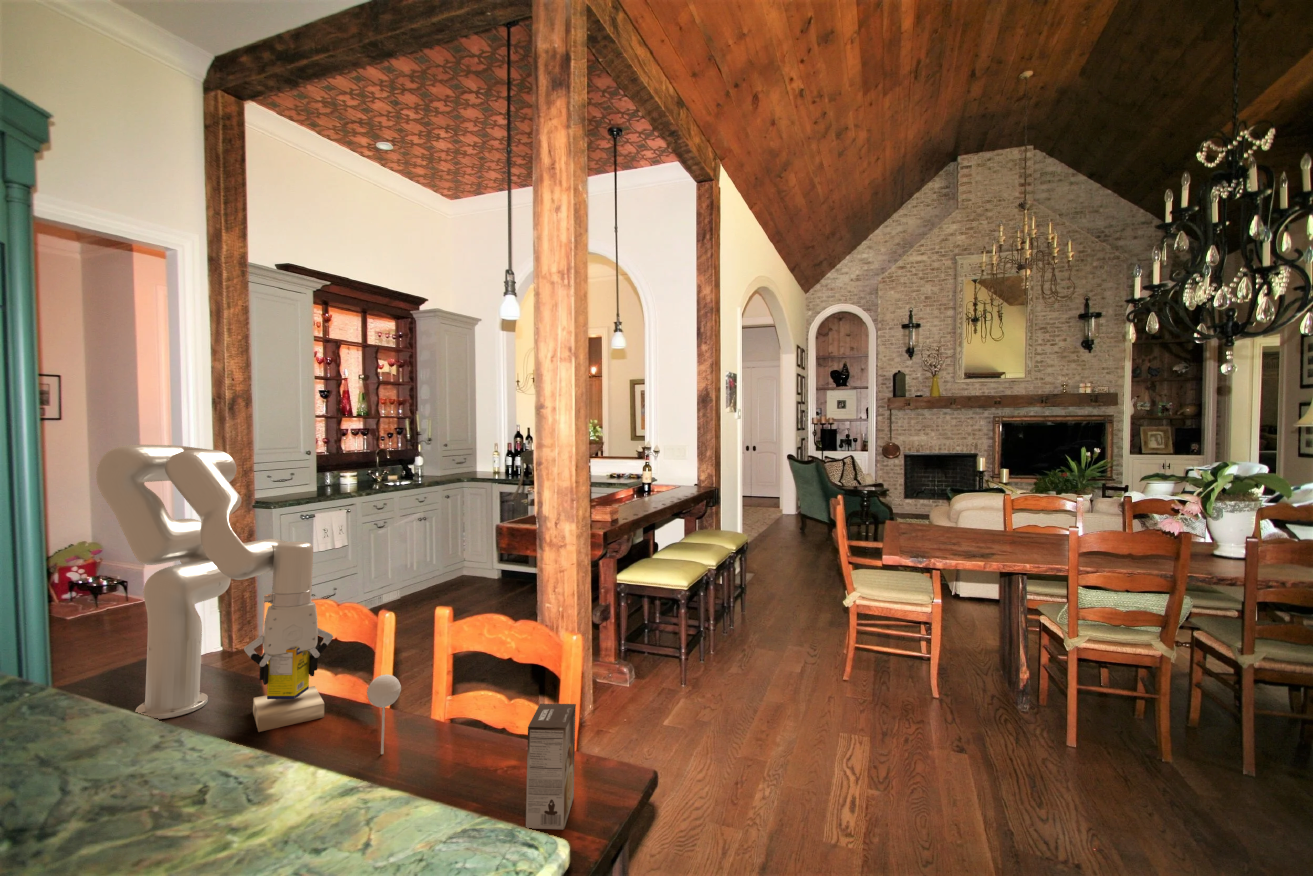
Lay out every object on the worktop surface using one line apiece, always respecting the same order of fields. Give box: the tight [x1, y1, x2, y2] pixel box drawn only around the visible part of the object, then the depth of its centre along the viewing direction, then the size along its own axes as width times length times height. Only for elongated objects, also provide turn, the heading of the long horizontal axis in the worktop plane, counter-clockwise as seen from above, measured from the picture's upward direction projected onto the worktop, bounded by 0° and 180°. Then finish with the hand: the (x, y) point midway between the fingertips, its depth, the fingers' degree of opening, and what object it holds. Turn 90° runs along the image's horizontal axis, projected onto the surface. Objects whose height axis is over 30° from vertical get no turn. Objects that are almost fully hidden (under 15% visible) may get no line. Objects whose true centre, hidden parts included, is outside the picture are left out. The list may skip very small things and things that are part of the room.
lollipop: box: [366, 674, 402, 755], centre depth 117 cm, size 6×6×15 cm
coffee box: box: [525, 703, 577, 830], centre depth 100 cm, size 9×6×16 cm
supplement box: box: [266, 647, 311, 699], centre depth 134 cm, size 6×6×11 cm
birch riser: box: [252, 685, 325, 733], centre depth 133 cm, size 12×12×3 cm
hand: (288, 678), depth 134 cm, fingers closed on supplement box, 8 cm apart
